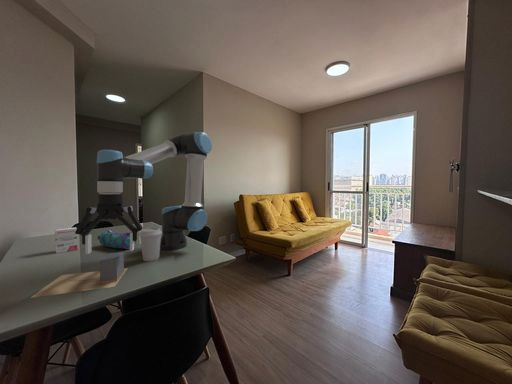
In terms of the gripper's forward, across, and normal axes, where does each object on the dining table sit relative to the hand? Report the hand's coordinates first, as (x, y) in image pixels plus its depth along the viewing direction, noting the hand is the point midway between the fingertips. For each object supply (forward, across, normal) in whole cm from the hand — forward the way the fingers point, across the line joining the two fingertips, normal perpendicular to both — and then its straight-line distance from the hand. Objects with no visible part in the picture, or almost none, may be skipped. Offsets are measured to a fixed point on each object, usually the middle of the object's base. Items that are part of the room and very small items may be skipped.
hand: (111, 251), depth 74 cm
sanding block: (+10, 0, 0) cm, 10 cm away
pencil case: (+11, +12, -47) cm, 49 cm away
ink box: (+11, +36, -48) cm, 61 cm away
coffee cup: (+11, -10, -17) cm, 23 cm away
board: (+11, +8, 0) cm, 14 cm away
